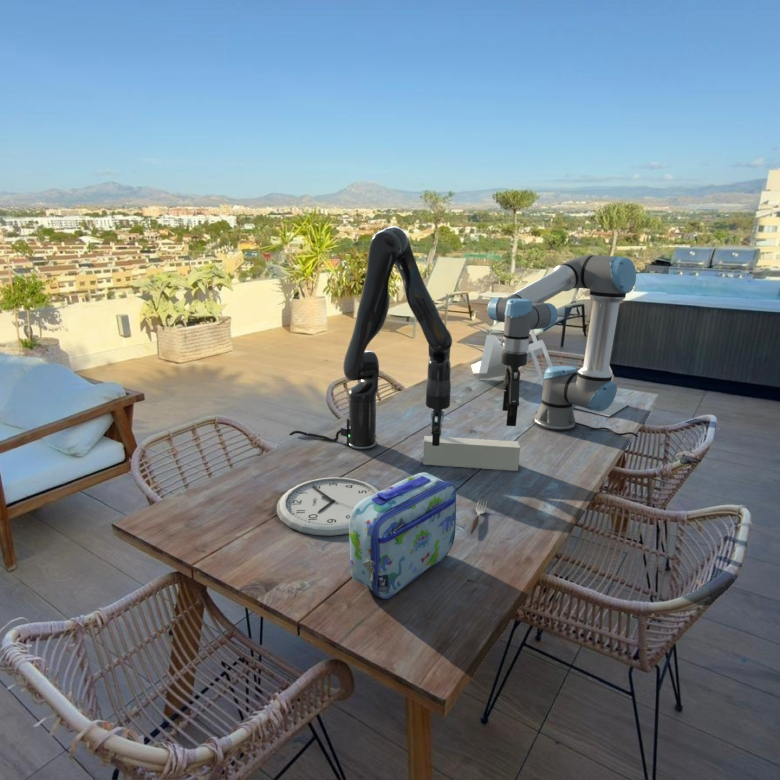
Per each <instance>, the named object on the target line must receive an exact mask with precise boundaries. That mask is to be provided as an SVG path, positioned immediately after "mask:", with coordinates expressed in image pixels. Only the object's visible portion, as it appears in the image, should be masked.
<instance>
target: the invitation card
mask: <svg viewBox="0 0 780 780" xmlns="http://www.w3.org/2000/svg"><path fill="white" fill-rule="evenodd" d="M628 406H629V404H627V403H623V402H618V401H614V400H613V402H612V403H611V405H610V406H609V407H608V408H607V409H606V410H604V411H600V412H599V411H594V410H589V409H587V408H584V407H580V406H577V405H575V406H574V407H573V409H575V410H581V411H584V412H587V413H593V414H596V415H600V416H604V417H608V418H609V417H611V416H613V415H614V414H616V413H617V412H619V411H621V410H623V409H624V408H626V407H628Z"/></svg>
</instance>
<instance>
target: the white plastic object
mask: <svg viewBox="0 0 780 780" xmlns="http://www.w3.org/2000/svg"><path fill="white" fill-rule="evenodd" d="M529 334H530V336H531V339H532V342H531V343H529V346H528V351H527V352H526V353H527V363H529V362H530V361H531V360H532V362H533V364H534V367H535V370H536V373H537V376H538V379H539V382H540V385H541V386H542V388H543V382H544V379H543V378H544V375H543V374H544V373H543V371H542V369H541V365H540V363H539V359H538V356H540V355H544V358H545V361H546V364H547V368H550V367H554V365H553V362H552V361H551V358H550V354H549V352H548V349H547V346H546V343H545V342H544V340H543V339H540V340H538V338H537V335H536V333H535V329H533V330H530V333H529ZM502 348H503V343H501V340H500V339H499V338H498V337H497V336H496V335H495V334H486V337H485V342H484V345H483V351H482V355H481V356H482V357H481V360H480V361H477V362H475V363H472V364H471V365H470V367H471V370H472V375H473V376H474V377H475V379H476V380H482V379H490V378H492V379H493V378H501V377H503V378H504V379H505V375H506V368H507V365H504V364H502V363H501V357H502V352H503V351H504V350H503V349H502ZM521 367H522V366H520V367H518V369H520V368H521Z"/></svg>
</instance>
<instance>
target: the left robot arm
mask: <svg viewBox="0 0 780 780" xmlns="http://www.w3.org/2000/svg"><path fill="white" fill-rule="evenodd" d="M394 266H395V267H396V269H397V271H398V273H399V275H400V278H401V281H402V284H403V290H404V291H403V292H404V294H405V300H406V301H407V302H406V303H407V305H408V306H409V309H410V311H411V313H412V314H413V316H414V319H415V320H416V322H417V323H418V325H419V326H420V328H421V331H422V333H423V336H424V338H425V340H426V342H427V344H428V361H427V362H428V363H427V378H426V384H425V385H426V387H425V393H426V394H425V406H426V407H427V408H428V409H431V412H430V419H431V421H430V427H431V432H430V433H431V436H432V445H433V446H439V442H440V437H441V436H442V435H441V434H442V428H443V421H444V416H445V411H444V410H447V409H449V408H450V406H451V389H452V386H451V385H452V384H451V367H452V366H451V358H450V357H451V347H452V345H453V337H452V334H451V331H449V330H448V328H447V327H446V325H445V323H444V321H443V319H442V318H441V315H440V312H439V309H438V307H437V305H436V304H435V301H434V299H433V298H432V296H431V294H430V291H429V290H428V288H427V286H426V283H425V282H424V278H423V276H422V273H421V271H420V268H419V266H418V263H417V260H416V258H415V255H414V252H413V249H412V246H411V242H410V240H409V238H408V236H407V234H406V232H405V231H404V230H403V229H402V228H400V227H398V226H389V227H386V228H384V229H382V230H380V231H378V232H377V233H375V234H374V235H373V236H372V237H371V240H370V242H369V249H368V255H367V267H366V273H365V279H364V282H363V286H362V291H361V293H360V294H361V295H360V300H359V302H358V307H357V311H356V316H355V322H354V326H353V330H352V334H351V338H350V341H349V343H348V346H347V350H346V353H345V355H344V359H343V366H342V368H343V373H344V376H345V378H346V379H347V380H349V381H353V382H354V381H358V383H356V384H355V385H354V386H352V387H351V388H350V389H349V390H348V418H346V425H343V426H341V427H340V429H339V430H337V431H336V433H335V438H330V437H328V436H325V435H323V434H316V433H311V432H305V431H301V430H293V431H291V432H290V433H289V434H288V436H293V435H295V434H299V435H302V436H308V437H314V438H319V439H323V440H325V441H328V442H336V441H338V440H339V436H342V437H345V438H346V445H347V446H349V447H350V448H351V449H355V450H359V451H362V450H370V449H373V448H375V447H376V445H377V441H376V439H377V393H378V391H379V376H380V375H379V374H380V362H379V358H378V355H377V354H376V353H375V351H372V350H366V349H367V347H368V346H369V344H370V343H371V342H372V341H373V339H374V338H375V337H376V336H377V335H378V334H379V332H380V331H381V330H382V328H383V327H384V326H385V323H386V320H387V317H388V312H389V309H390V304H391V303H390V302H391V301H390V299H391V298H390V290H389V283H390V278H391V275H392V271H393V268H394ZM307 433H308V434H307Z"/></svg>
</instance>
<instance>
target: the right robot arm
mask: <svg viewBox="0 0 780 780" xmlns="http://www.w3.org/2000/svg"><path fill="white" fill-rule="evenodd" d="M636 282H637V270H636V266H635V264H634V262H633V261H632V259H630V258H628V257H625V256H618V255H598V254H597V255H595V254H586V255H581V256H578V257H575V258H572V259H569V260H566V261H564V262H563V263H561V264H559V265H557V266H555V267H554V269H553V270H552V272H550V273H548V274H547V275H544V276H543V277H542V278H540V279H537V280H536V281H533V282H532V283H530V284H528V285H526V286H525V287H523V288H521V289H520V290H517V291H516V292H514V293H512V294H509V295H508V296H507V297H502V296H501V297H493V298H492V299H490V301H489V302H488V304H487V308H486V313H487V316H488V318H489V319H490V320H492V321H496V322H498V323H504V325H503V334H502V335H503V337H502V338H503V339H501V340H500V342H501V343H503V348H502V349H503V350H504V351H503V352H502V357H501V363H502V364H504V365H507V368H506V375H505V378H504V382H503V390H504V391H503V399H502V412H507V413H506V423H505V426H506V427H517V419H518V418H517V417H518V409H519V408H518V407H519V405H520V380H521V371H520V368H521V367H524V366H526V365H527V363H528V362H527V353H526V352H527V351H528V346H529V344H530V334H531V333H530V330H533V329H534V330H539V329H540V330H541V329H546V328H549V327H552V326H553V325H555V323H556V322H557V320H558V317H559V316H558V315H559V312H558V309H557V307H556V306H555V305H554V304H553V303H550V302H547V301H548V300H550V299H552V298H554V297H555V296H557V295H559V294H561V293H562V292H569V291H571V290H573V289H584V290H585V289H586V290H589V297H590V298H591V299H592V306H591V312H590V319H589V326H588V332H587V333H588V334H587V338H586V344H585V351H584V352H585V353H584V359H583V365H582V367H581V368H580V369H578V368H577V367H576V366H571V365H570V366H569V365H555V366H554V365H553V367H550V368H549V367H547V368H546V369H545V371H544V373H543V374H544V375H543V377H544V378H543V379H544V382H543V387H542V394H541V402H540V405H539V407H538V410H537V411H535V416H534V424H535V425H536V426H537V427H539V428H542V429H544V430H549V431H556V432H567V431H572V430H574V429H575V428H576V425H577V426H581V427H584V428H586V429H590V430H594V431H601V430H606V431H608V432H611V433H612V434H613V435H617V436H625V435H626V436H627V435H633V436H634V437H636V438H638V437H639V435H638V434H637V433H635V432H633V431H627V432H616V431H614V430H613V429H611V428H609V427H603V426H601V427H592V426H590V425H587V424H584V423H580V422H577V421H576V418H575V417H576V416H575V413H574V407H573V405H574V406H580V407H584V408H587V409H589V410H594V411H599V412H600V411H604V410H606V409H607V408H608V407H609V406H610V405H611V403H612V402H613V401H614V400H615V398H616V395H617V392H618V387H617V384H616V382H615V381H613V374H612V372H610V363H611V357H612V352H613V345H614V338H615V333H616V327H617V321H618V315H619V310H620V304H621V302H623V301H624V300H625V299H626V298H627V297H626V296H627V294H630V293H631V292H632V291H633V290H634V287H635V285H636ZM520 366H521V367H520ZM518 367H520V368H518Z"/></svg>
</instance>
